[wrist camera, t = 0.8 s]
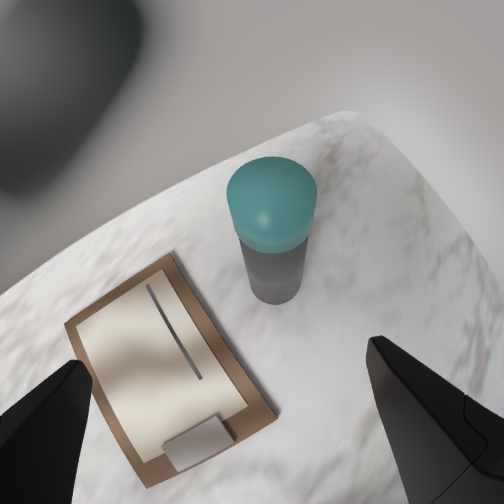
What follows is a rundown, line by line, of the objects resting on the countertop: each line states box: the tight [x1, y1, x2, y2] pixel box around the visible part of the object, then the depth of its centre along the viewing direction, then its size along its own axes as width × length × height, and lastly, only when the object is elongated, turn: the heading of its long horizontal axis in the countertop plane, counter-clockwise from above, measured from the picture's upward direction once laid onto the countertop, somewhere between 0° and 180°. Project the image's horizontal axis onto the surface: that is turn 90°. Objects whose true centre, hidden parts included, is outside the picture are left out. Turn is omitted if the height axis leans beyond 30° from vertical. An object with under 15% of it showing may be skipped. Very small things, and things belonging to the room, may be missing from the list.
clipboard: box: [64, 253, 278, 489], centre depth 22 cm, size 16×12×1 cm
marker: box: [227, 157, 317, 305], centre depth 20 cm, size 4×4×12 cm
